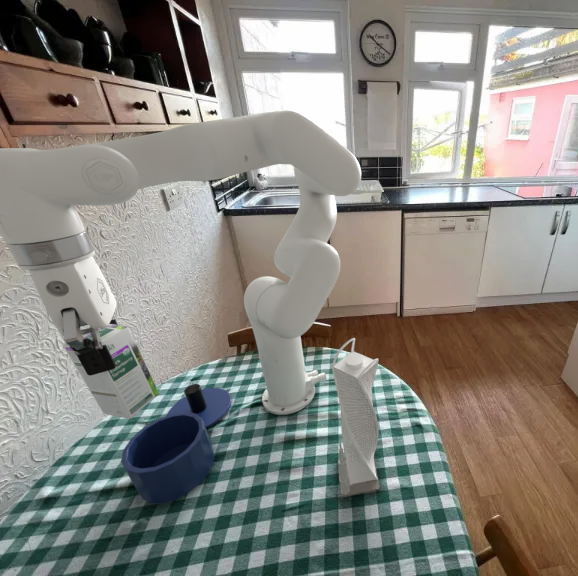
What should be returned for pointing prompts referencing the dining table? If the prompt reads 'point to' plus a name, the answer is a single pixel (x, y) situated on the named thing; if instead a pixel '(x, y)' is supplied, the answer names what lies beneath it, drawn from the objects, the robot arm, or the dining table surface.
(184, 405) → the lid
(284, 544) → the dining table surface
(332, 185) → the robot arm
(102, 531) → the dining table surface
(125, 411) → the syrup box
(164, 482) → the pot
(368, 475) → the skyscraper
